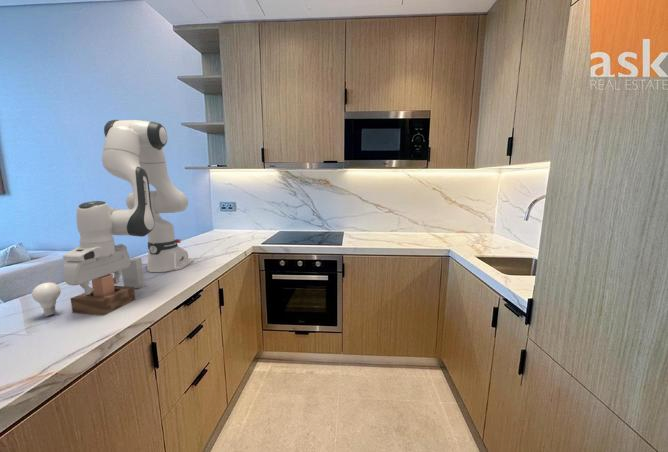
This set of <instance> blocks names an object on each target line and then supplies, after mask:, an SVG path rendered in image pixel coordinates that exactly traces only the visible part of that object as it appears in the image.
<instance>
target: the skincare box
mask: <svg viewBox="0 0 668 452" xmlns="http://www.w3.org/2000/svg"><path fill="white" fill-rule="evenodd" d="M129 258H130V263H131V264H130V266H129V267H128V268H125V269H122V273H121V275H122V281H123V286H127V287H134V289H140V288H142V287H144V286H145V285H146V282H145V275H144V268H143V260H142V257H129Z"/></svg>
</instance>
